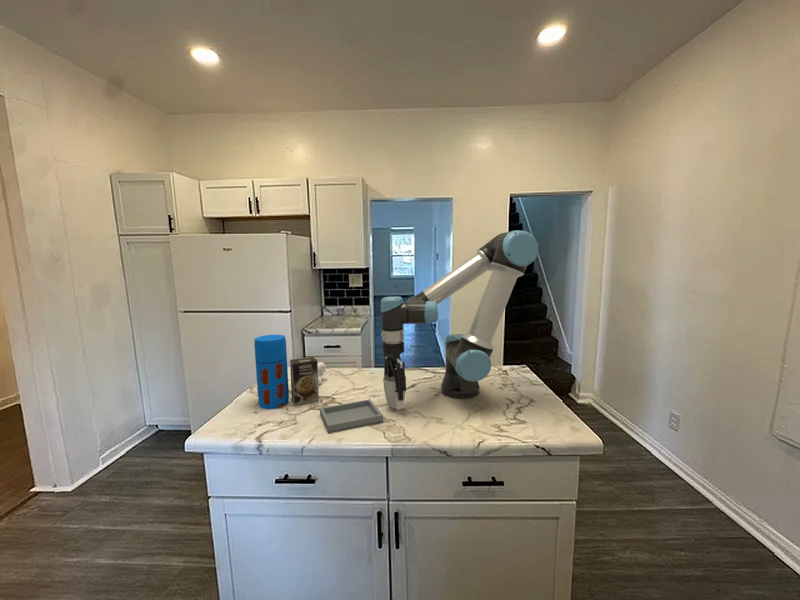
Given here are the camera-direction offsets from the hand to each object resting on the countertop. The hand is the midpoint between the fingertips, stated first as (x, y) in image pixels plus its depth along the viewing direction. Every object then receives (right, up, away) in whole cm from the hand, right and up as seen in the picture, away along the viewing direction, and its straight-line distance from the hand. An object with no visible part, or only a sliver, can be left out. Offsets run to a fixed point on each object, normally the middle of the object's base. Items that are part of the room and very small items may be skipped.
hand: (395, 403), depth 126 cm
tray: (-15, -3, -7) cm, 17 cm away
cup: (0, -1, 0) cm, 0 cm away
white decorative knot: (-37, +1, +27) cm, 46 cm away
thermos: (-45, -2, +6) cm, 46 cm away
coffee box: (-34, -2, +8) cm, 35 cm away
